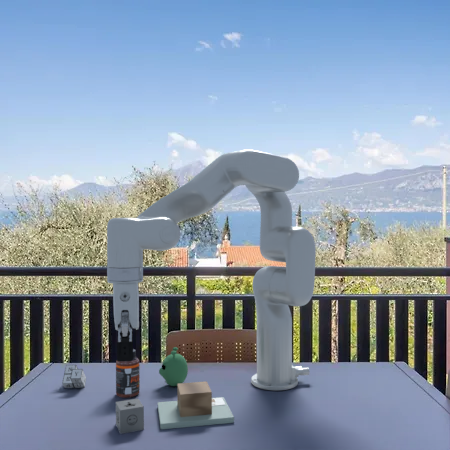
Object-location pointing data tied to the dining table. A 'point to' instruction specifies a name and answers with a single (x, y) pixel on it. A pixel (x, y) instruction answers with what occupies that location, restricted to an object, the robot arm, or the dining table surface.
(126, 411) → the dice cube
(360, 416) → the dining table surface
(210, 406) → the base brick
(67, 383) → the building blocks
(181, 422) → the build board
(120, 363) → the supplement bottle
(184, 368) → the alien toy
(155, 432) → the dining table surface
